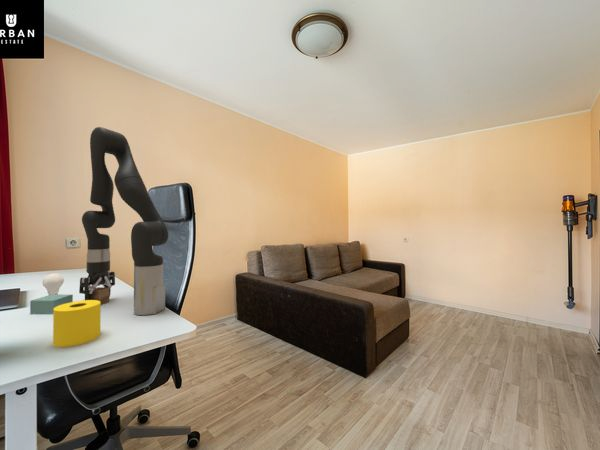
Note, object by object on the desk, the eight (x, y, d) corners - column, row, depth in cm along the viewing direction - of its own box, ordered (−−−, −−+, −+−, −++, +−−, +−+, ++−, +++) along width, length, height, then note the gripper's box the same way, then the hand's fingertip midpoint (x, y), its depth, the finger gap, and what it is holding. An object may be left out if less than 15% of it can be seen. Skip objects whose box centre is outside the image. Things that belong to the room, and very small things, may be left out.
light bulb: (68, 297, 112) (68, 272, 112) (51, 301, 105) (52, 275, 105) (54, 296, 112) (54, 271, 112) (37, 301, 106) (37, 274, 106)
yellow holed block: (45, 350, 65) (45, 313, 65) (63, 334, 74) (63, 302, 74) (93, 343, 69) (93, 308, 69) (104, 329, 78) (105, 298, 78)
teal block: (72, 307, 99) (72, 294, 99) (53, 314, 91) (53, 300, 91) (51, 307, 99) (51, 294, 99) (30, 314, 91) (30, 300, 91)
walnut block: (109, 302, 105) (109, 287, 105) (98, 305, 100) (99, 290, 100) (97, 301, 106) (97, 287, 106) (87, 305, 101) (87, 290, 101)
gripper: (91, 263, 96) (91, 306, 96) (120, 258, 110) (120, 295, 110) (73, 262, 96) (72, 305, 96) (104, 257, 110) (104, 295, 110)
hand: (98, 300), depth 103 cm, fingers open, 8 cm apart
